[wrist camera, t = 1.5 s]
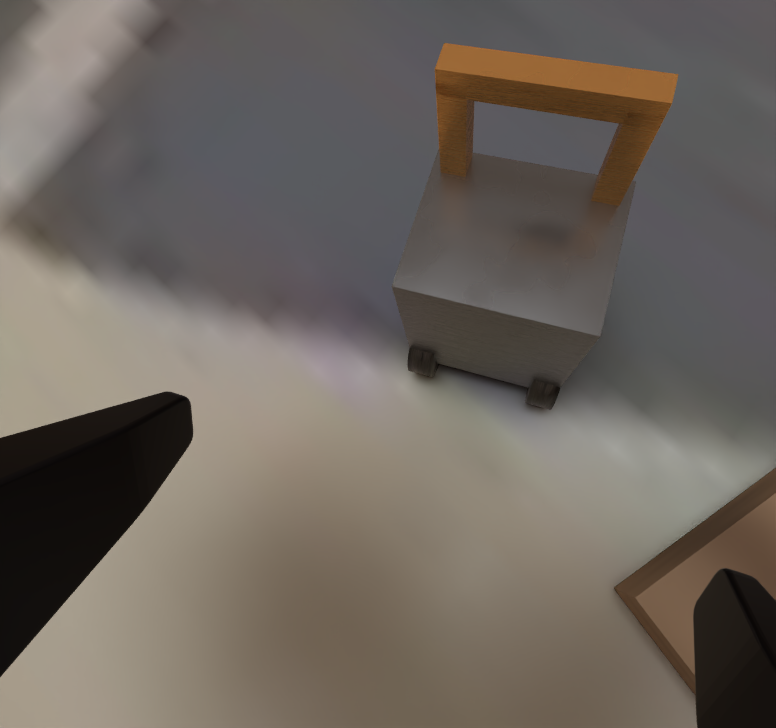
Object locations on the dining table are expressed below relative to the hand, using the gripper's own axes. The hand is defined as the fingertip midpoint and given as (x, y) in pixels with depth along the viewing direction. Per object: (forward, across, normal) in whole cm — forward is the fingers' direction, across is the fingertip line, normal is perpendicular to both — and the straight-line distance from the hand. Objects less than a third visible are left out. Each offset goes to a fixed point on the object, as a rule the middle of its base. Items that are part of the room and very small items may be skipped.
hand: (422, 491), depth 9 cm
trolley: (+15, 0, +4) cm, 16 cm away
